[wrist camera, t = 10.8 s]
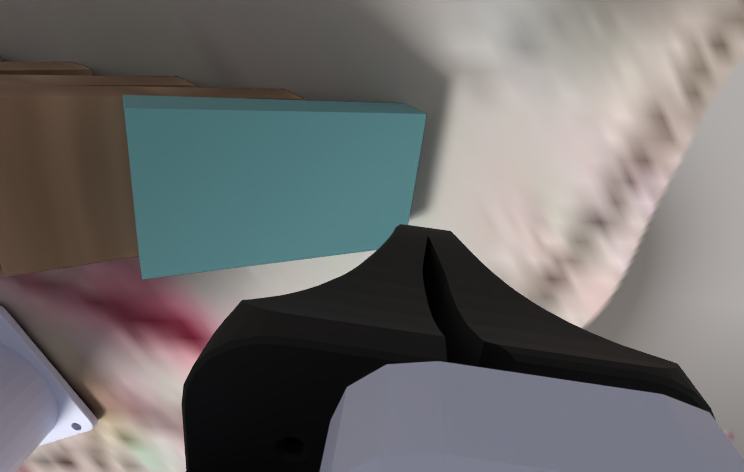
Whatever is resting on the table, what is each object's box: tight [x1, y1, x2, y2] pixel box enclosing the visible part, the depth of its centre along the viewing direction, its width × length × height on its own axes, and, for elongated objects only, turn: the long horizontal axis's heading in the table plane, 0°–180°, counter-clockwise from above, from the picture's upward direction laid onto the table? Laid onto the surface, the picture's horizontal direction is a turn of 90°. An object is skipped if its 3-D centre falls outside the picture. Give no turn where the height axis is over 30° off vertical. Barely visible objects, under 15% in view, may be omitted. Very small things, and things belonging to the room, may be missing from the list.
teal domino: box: [123, 95, 427, 279], centre depth 16 cm, size 2×5×9 cm
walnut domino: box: [0, 84, 303, 277], centre depth 16 cm, size 2×5×9 cm
